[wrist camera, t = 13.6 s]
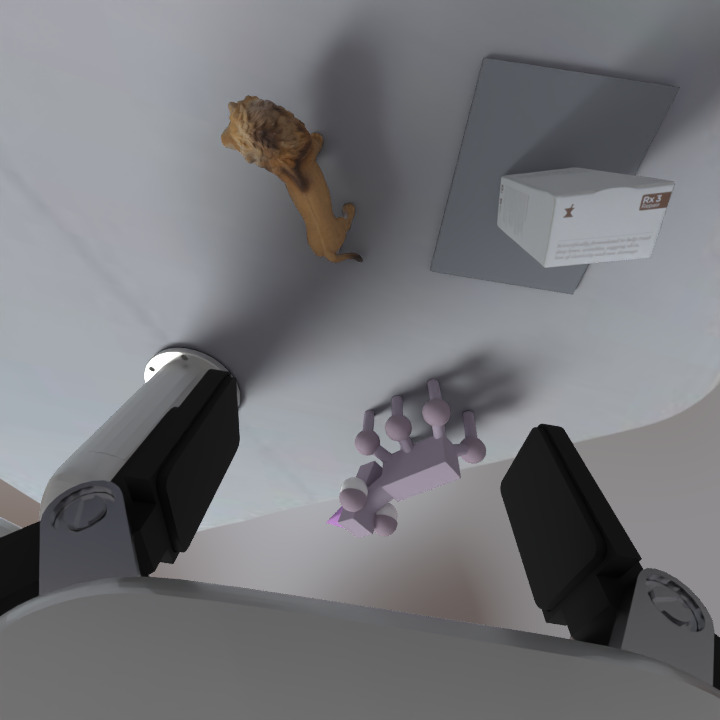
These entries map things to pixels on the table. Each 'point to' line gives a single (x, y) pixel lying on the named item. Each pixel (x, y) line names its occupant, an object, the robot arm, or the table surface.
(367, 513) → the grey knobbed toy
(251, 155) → the lion figurine
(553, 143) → the mat
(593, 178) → the skincare box
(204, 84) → the table surface
